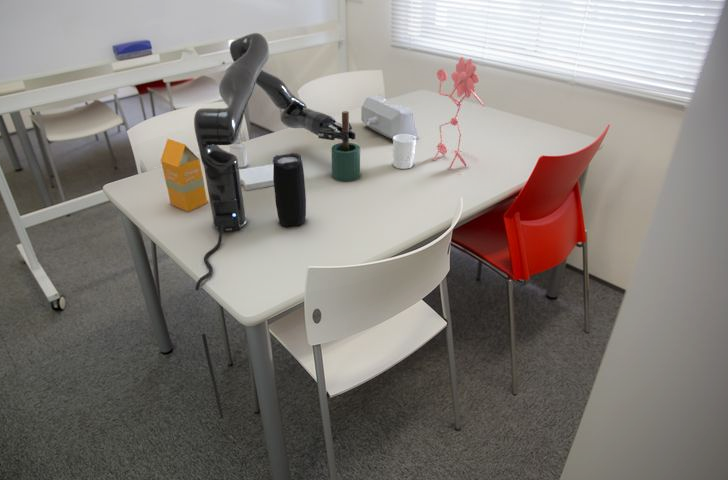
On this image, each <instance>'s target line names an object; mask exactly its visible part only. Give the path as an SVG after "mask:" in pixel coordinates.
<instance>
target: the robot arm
mask: <svg viewBox="0 0 728 480" xmlns="http://www.w3.org/2000/svg"><path fill="white" fill-rule="evenodd" d="M229 54H230V56H231V59H232V61H233V62H232V63H231V64H230V65H229V66H228V67H227V68H226V69H225V71H224V73H223V75H222V77H221V79H220V81H219V83H218V84H219V85H218V91H219V95H220V98H221V99H222V101H223V102H224V104H225V105H226V107H223V108H222V107H221V108H218V107H213V108H212V107H202V108H199V109H197V110H196V111H195V113H194V117H193V128H194V133H195V134H194V135H195V138H196V142H197V146H198V150H199V155H200V161H201V163H202V165H203V170H204V176H205V181H206V187H207V188H206V189H207V193H208V194H207V195H208V199H209V205H210V210H211V216H212V221H213V227H214V229H216V230H217V232H218V240H217V243H216V245H214V247H213V248H212V249H211V250H209V251H207V252H206V253H205V254H204V258H203V261H204V263H205V266H207V268H208V272H207V273H205V274H204V275H202V276H200V278H199V279H198V280H197V281H196V284H195V287H194V288H195V289H194V290H195V291H198V290H200V287H201V284H202V282H203V281H205V280H206V279H208V278H209V277H211V275H213V271H214V268H213V266H212V264H211V262H209V260H208V259H209V257H210V255H212V254H214V253H215V252H216V251H218V249H219V248H220V246H221V244H222V240H223V235H224V232H236V231H241V229H242V228H243V227H245V226H246V225H247V222H248V221H247V217H246V210H245V203H244V196H243V189H242V187H243V186H242V185H241V180H240V173H239V170H240V167H239V165H238V159H237V157H236V156H235V155H234V154H232V153H230V151H227V150H225V149H223V148H221V147H220V146H230V145H232V144H234V143H235V142H236V141H237V139H238V136H239V137H240V134H241V128H242V124H243V120H244V116H245V112H246V110H247V106H248V105H249V101H250V99H251V98H252V95H253V93H254V92H253V91H254V90H255V86H256V85H257V86H258V87H259V88H260V89H261V90H263V91H264V93H265V94H266V95H267V96H268V97H269V99H270V100H271V101H272V103H273V104H274V105H275V106H276V108H278V109H279V110H282V111H281V112H280V116H279V117H280V121H281V123H282V124H283V125H284V126H286V127H287V128H289V129H290V128H291V129H304V130H307V131H308V132H310V133H312V134H313V135H316V136H317V138H318V139H321V140H329V141H336V140H337V141H338V140H340V141H342V140H343V141H346V142H347V141H349V142H350V140H352V141H354V140H356V133H355V132H354V131H353V127H352V124H351V123H350V122H349V135H348V134H345V133H343V132H342V123H341V122H340V123H339V122H337V121H336V119H335V118H334V117H333V116H331V115H328V114H326V113H324V112H321V111H318V110H317V111H316V110H313V109H311V108H308V106H307V104H306V103H305V102H304V100H301V99H300V98H298V97H297V96H296V95H294V94H293V92H292V91H291V90H290V89H289V87H288V86H287V85H286V83H285V82H284V80H282V79H281V78H279V77H278V76H276V75H274V74H271V73H270V72H267V71H265V70H263V69H264V67H265V66H266V64H267V62H268V60H269V57H270V47H269V43H268V41H267V39H266V37H265V36H264V35H263V34H261V33H260V32H252V33H249V34H245V35H244V36H241V37H239V38H235V39H234V40H233V41H231V43H230V44H229ZM201 337H202V342H203V343H202V344H203V347H204V352H205V356H206V357H205V358H206V362H207V365H208V370H209V373H210V378H211V382H212V387H213V391H214V395H215V399H216V404H217V408H218V413H219V418H220V420H224V412H223V409H222V403H221V399H220V394H219V390H218V386H217V382H216V378H215V373H214V368H213V364H212V358H211V354H210V350H209V346H208V340H207V335H206V333H202V334H201Z"/></svg>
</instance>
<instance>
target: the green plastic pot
mask: <svg viewBox="0 0 728 480" xmlns="http://www.w3.org/2000/svg"><path fill="white" fill-rule="evenodd" d="M341 150H342V142H338V143H335V144H334V145H332V146H331V176H332V178H333V180H335V181H338V182H339V181H340V182H353V181H356V180H358V179H359V178H360V177H361V147H360V145H359V144H357V143H353V142H349V150H351V151H341Z"/></svg>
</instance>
